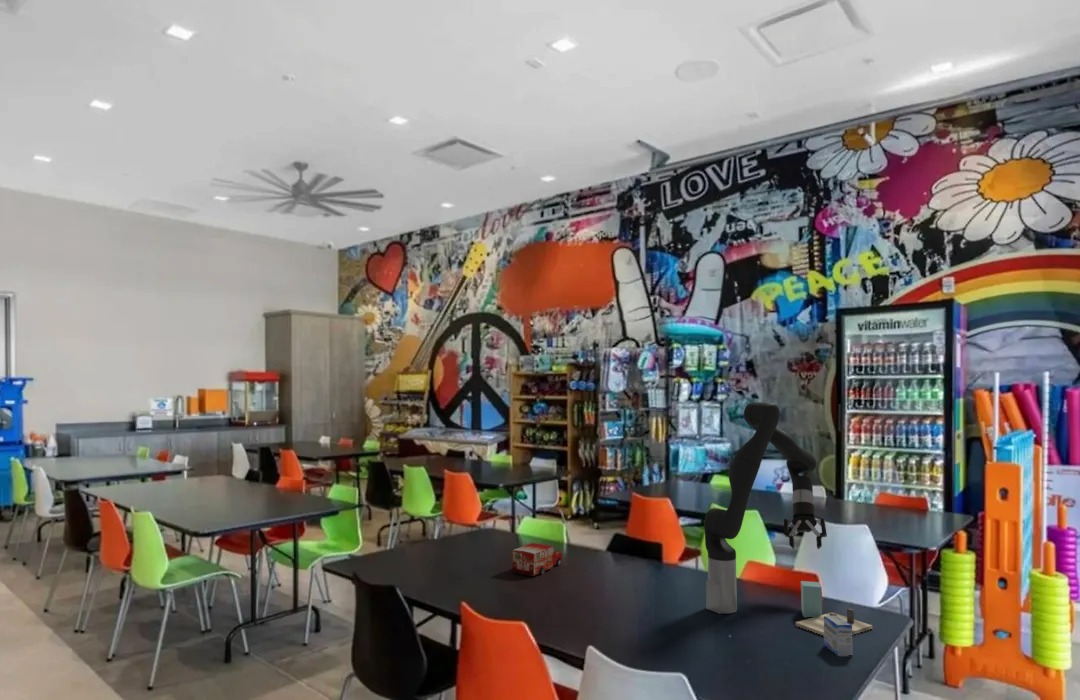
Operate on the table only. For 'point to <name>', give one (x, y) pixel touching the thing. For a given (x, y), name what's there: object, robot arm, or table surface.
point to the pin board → (820, 624)
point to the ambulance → (534, 559)
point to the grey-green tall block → (811, 599)
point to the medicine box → (838, 635)
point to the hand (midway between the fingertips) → (805, 548)
